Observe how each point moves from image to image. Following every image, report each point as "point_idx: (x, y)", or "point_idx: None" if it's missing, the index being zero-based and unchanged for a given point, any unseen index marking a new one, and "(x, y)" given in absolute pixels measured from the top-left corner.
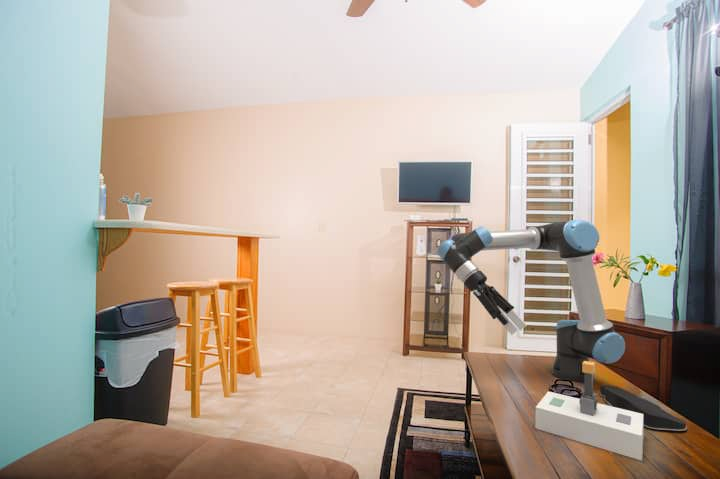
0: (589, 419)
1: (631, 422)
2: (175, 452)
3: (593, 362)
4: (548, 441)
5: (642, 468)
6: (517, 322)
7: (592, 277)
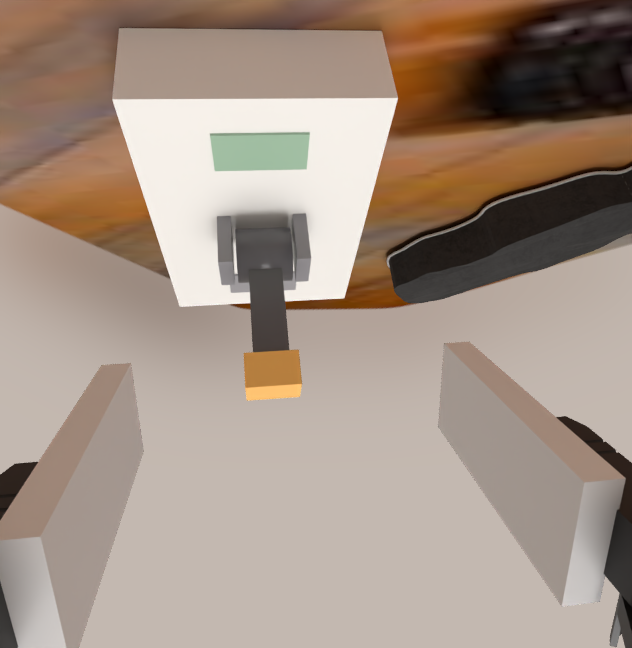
0: (178, 238)
1: None
2: None
3: (297, 395)
4: (51, 91)
5: (141, 256)
6: (476, 420)
7: None
